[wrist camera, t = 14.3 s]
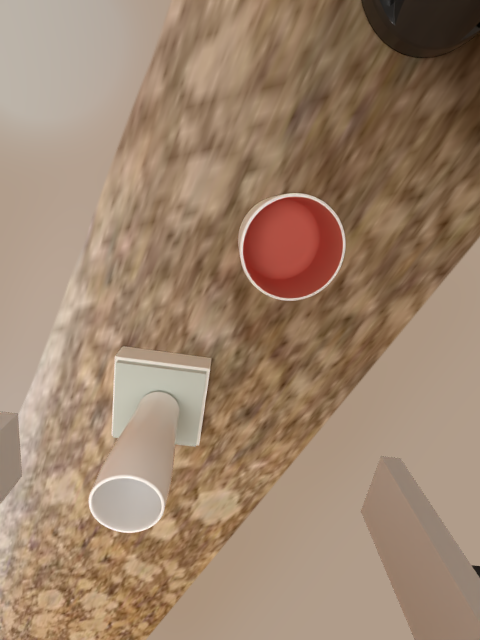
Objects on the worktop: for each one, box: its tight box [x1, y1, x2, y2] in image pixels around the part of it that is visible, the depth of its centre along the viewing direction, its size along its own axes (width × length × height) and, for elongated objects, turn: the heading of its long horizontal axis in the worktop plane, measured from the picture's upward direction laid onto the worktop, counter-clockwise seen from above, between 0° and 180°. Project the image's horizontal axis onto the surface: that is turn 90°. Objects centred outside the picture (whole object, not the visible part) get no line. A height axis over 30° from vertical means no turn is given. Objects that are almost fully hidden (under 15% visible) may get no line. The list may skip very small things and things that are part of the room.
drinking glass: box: [89, 392, 180, 533], centre depth 36 cm, size 7×7×15 cm
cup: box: [238, 193, 346, 301], centre depth 36 cm, size 10×10×10 cm
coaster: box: [112, 346, 212, 447], centre depth 45 cm, size 12×12×4 cm
